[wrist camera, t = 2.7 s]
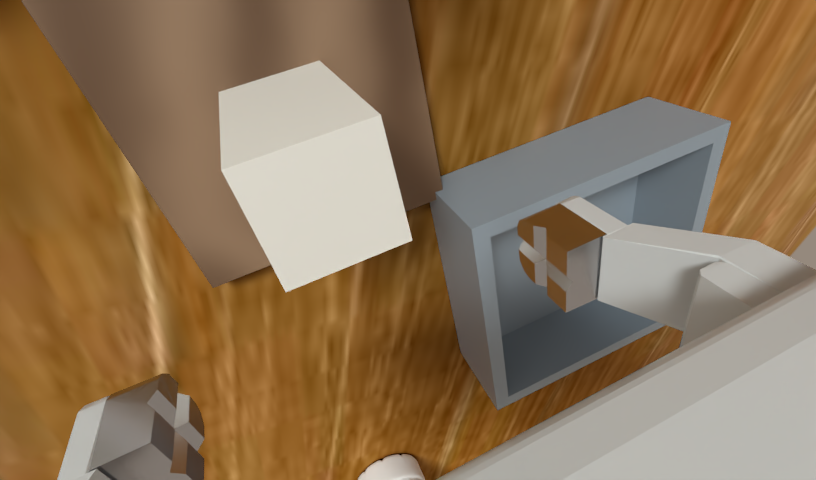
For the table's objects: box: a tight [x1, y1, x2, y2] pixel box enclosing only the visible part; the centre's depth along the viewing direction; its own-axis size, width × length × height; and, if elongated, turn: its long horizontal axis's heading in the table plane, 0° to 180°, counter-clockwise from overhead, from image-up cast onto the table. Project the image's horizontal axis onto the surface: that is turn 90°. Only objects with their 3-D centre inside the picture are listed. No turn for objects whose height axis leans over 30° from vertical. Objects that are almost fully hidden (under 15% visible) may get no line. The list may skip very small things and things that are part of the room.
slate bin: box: [430, 97, 731, 410], centre depth 30 cm, size 17×17×6 cm
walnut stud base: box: [22, 0, 443, 288], centre depth 19 cm, size 14×14×5 cm
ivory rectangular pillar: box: [219, 61, 412, 292], centre depth 17 cm, size 5×5×9 cm
